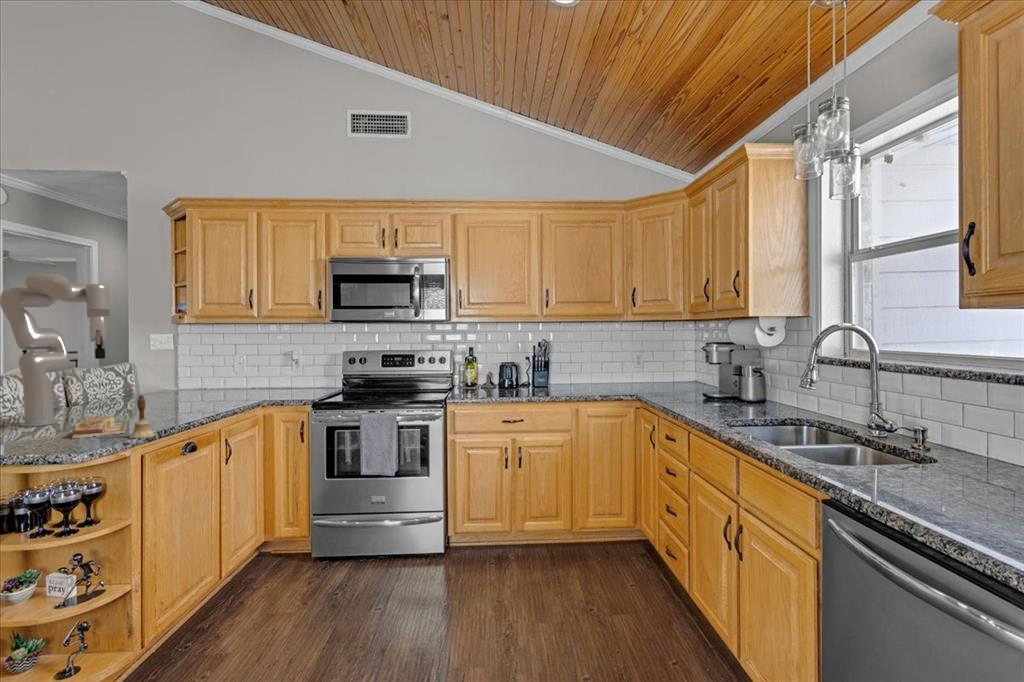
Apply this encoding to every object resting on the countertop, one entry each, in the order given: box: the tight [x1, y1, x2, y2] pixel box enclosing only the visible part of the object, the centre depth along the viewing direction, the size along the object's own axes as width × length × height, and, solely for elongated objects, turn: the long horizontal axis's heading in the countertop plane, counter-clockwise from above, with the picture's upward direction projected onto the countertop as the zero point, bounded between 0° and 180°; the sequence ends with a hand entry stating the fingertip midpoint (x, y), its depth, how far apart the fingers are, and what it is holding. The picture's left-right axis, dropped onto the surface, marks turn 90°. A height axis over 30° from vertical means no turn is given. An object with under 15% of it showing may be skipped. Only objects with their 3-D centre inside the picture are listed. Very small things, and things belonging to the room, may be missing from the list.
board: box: [72, 421, 128, 439], centre depth 219 cm, size 22×16×2 cm
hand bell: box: [129, 394, 156, 439], centre depth 208 cm, size 8×8×16 cm
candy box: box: [74, 416, 115, 434], centre depth 216 cm, size 9×4×15 cm
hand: (100, 358), depth 225 cm, fingers closed
